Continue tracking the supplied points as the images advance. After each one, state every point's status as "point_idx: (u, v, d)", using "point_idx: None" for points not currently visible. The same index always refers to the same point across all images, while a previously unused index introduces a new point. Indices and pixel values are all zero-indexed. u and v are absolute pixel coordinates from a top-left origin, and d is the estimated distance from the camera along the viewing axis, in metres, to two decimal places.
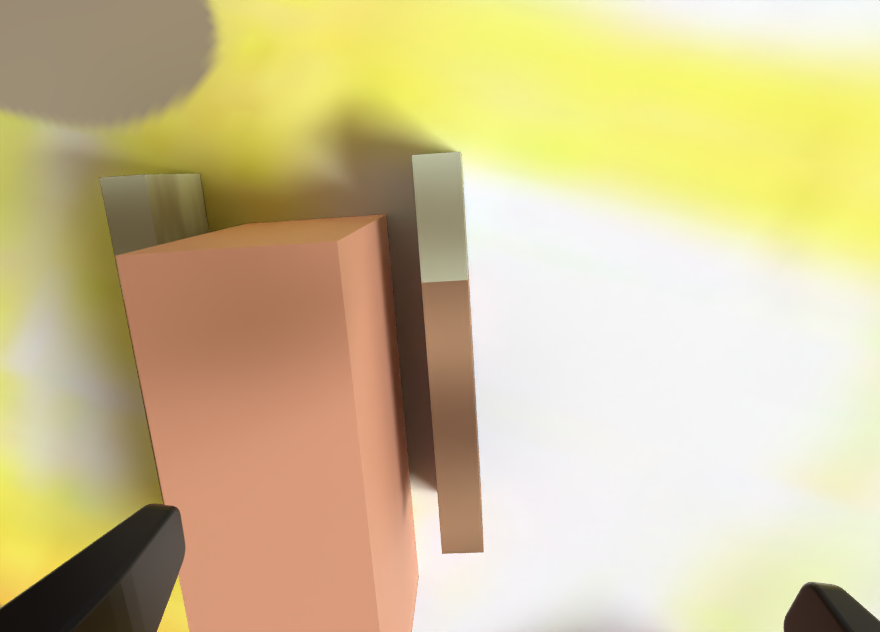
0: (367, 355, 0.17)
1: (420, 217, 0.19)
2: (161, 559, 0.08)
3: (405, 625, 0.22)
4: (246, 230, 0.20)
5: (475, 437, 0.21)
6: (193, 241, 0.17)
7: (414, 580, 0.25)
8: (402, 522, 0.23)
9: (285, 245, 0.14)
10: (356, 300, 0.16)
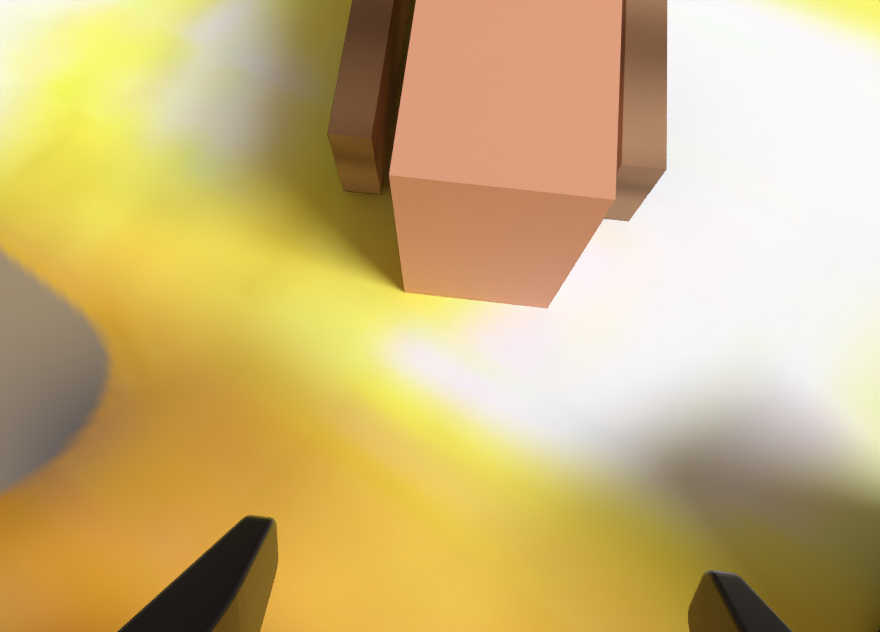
0: None
1: None
2: (262, 571, 0.08)
3: None
4: None
5: (665, 57, 0.21)
6: None
7: None
8: None
9: None
10: None
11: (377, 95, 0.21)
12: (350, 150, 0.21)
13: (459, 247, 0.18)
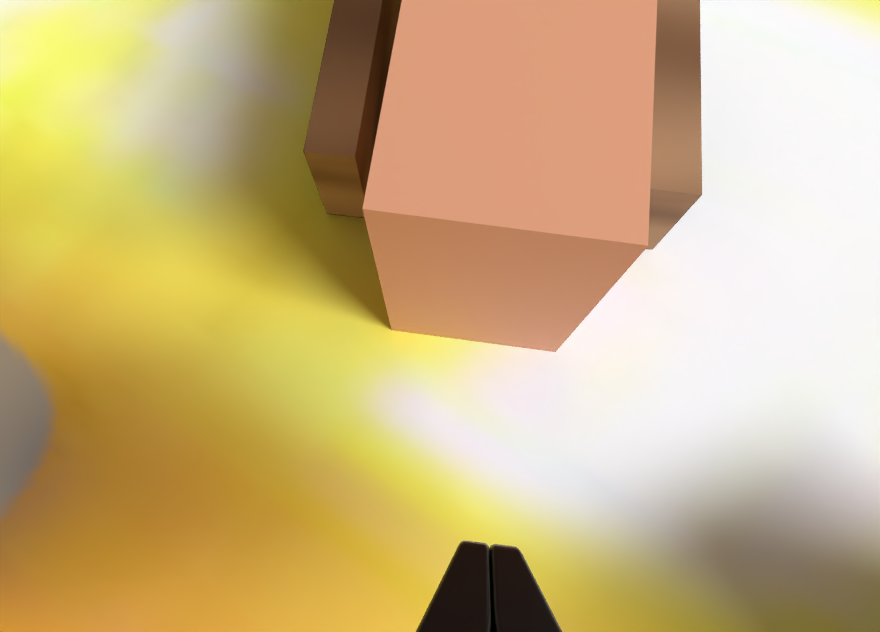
0: None
1: None
2: None
3: None
4: None
5: (699, 62, 0.18)
6: None
7: None
8: None
9: None
10: None
11: (363, 106, 0.18)
12: (331, 170, 0.18)
13: (452, 289, 0.15)
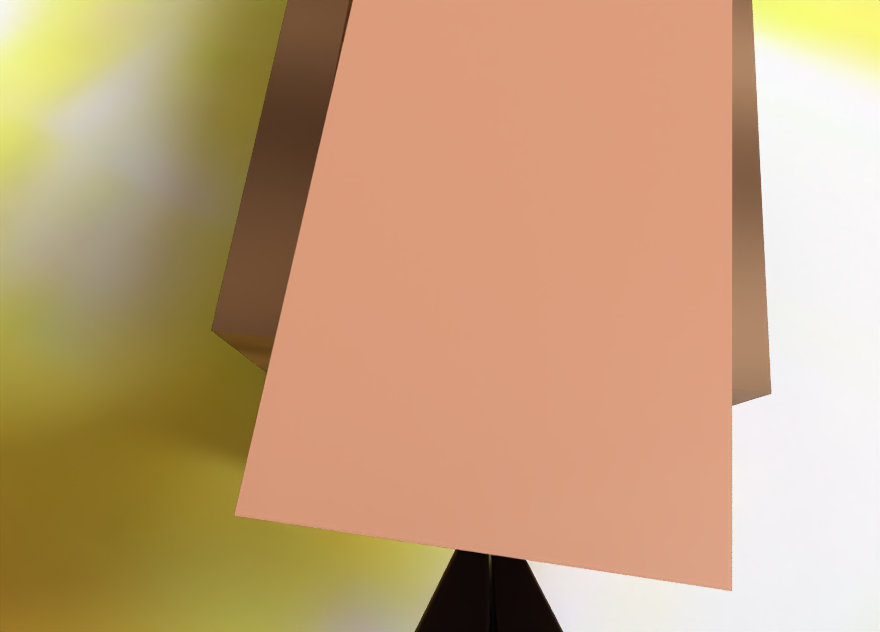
0: None
1: None
2: None
3: None
4: None
5: (759, 194, 0.13)
6: None
7: None
8: None
9: None
10: None
11: None
12: (255, 344, 0.13)
13: None
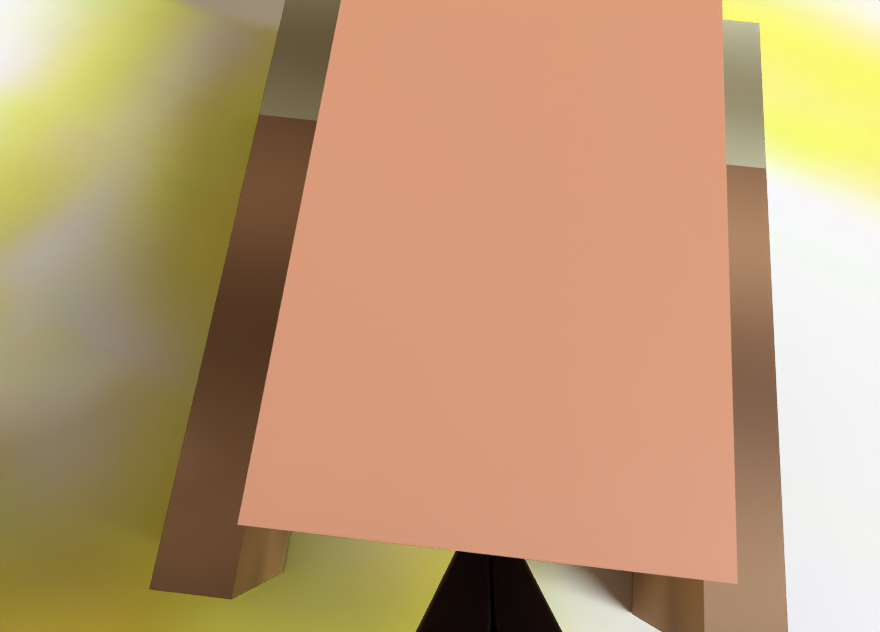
0: None
1: None
2: None
3: None
4: None
5: (775, 412, 0.12)
6: None
7: None
8: None
9: None
10: None
11: None
12: None
13: None
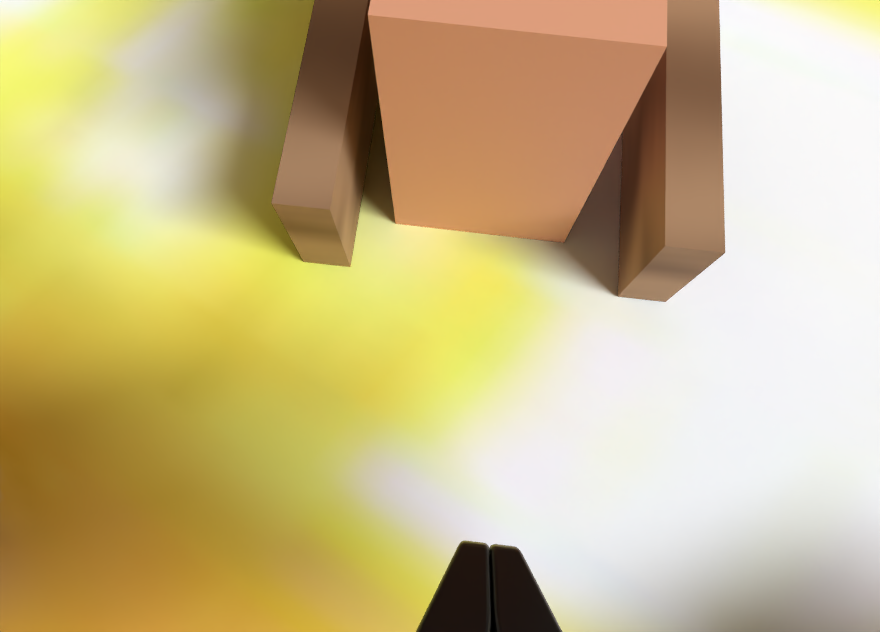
0: None
1: None
2: None
3: None
4: None
5: (720, 98, 0.16)
6: None
7: None
8: None
9: None
10: None
11: (339, 150, 0.16)
12: (304, 221, 0.16)
13: (460, 146, 0.15)
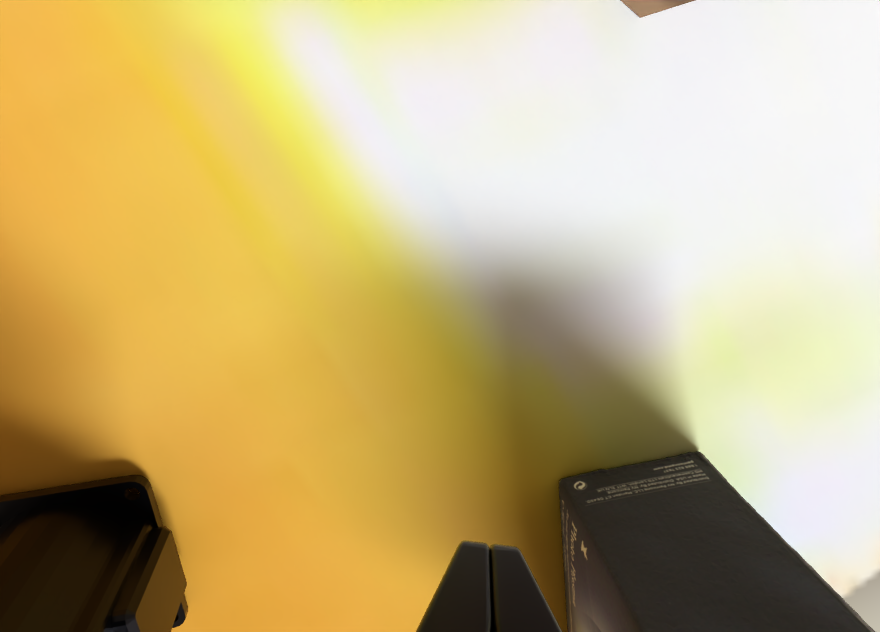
0: None
1: None
2: None
3: None
4: None
5: None
6: None
7: None
8: None
9: None
10: None
11: None
12: None
13: None
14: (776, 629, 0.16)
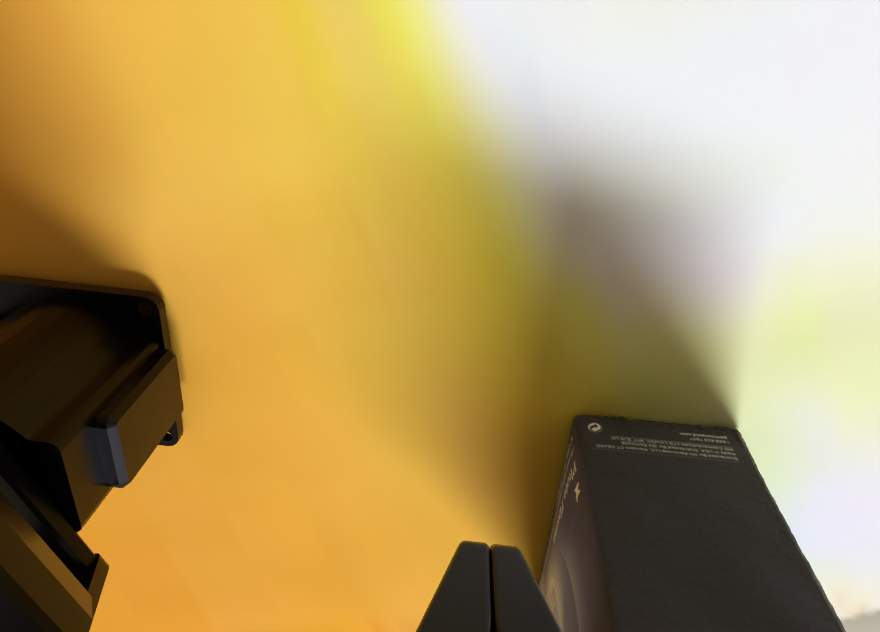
0: None
1: None
2: None
3: None
4: None
5: None
6: None
7: None
8: None
9: None
10: None
11: None
12: None
13: None
14: None
